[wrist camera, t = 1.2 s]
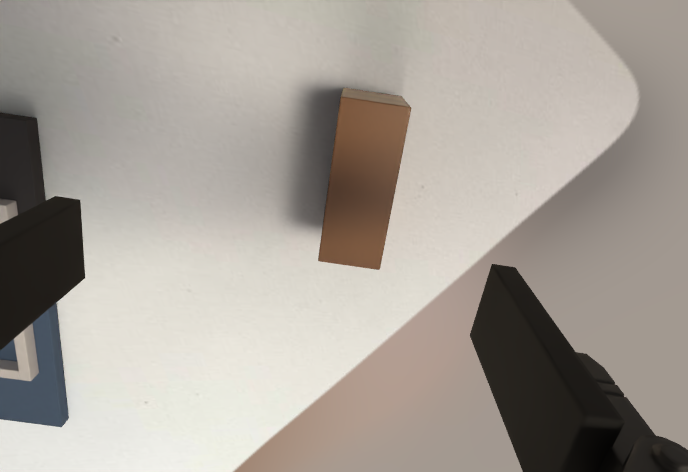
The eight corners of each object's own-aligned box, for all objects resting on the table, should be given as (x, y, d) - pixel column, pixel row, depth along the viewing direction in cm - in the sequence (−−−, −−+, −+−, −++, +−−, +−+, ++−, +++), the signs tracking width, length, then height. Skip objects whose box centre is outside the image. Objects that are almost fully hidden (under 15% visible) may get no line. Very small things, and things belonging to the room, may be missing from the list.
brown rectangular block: (343, 87, 27) (340, 96, 23) (402, 96, 27) (411, 107, 23) (323, 228, 31) (317, 261, 26) (376, 236, 31) (379, 270, 26)
